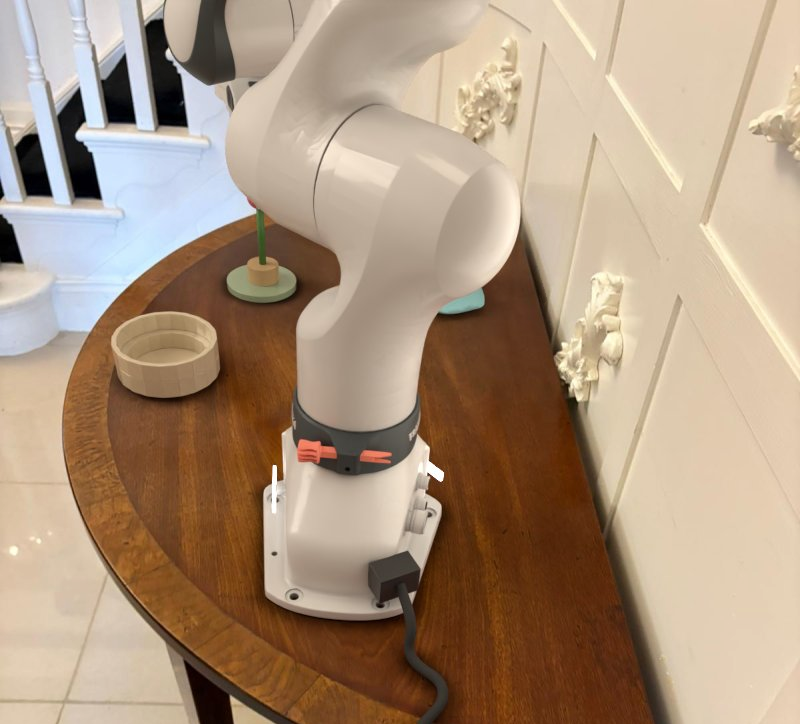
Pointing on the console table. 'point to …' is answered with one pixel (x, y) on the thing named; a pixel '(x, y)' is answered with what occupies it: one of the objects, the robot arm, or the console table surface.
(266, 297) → the coaster
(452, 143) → the robot arm
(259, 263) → the tulip
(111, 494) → the console table surface
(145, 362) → the bowl
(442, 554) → the console table surface
